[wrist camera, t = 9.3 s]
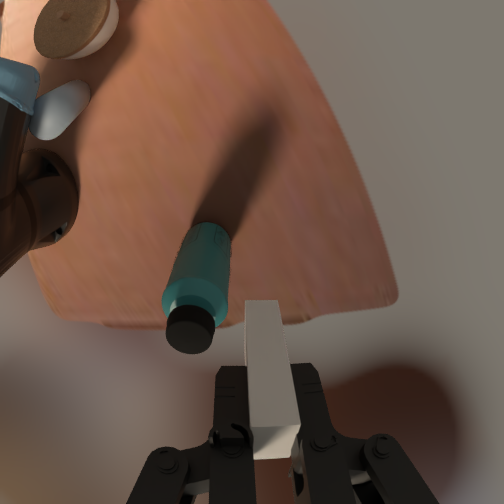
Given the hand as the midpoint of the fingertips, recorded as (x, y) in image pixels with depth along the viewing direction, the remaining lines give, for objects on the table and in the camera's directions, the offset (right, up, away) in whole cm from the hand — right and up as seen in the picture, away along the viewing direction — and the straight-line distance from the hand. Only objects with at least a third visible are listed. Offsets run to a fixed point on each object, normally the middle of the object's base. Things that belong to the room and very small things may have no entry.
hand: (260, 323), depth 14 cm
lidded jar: (-21, +33, +12) cm, 41 cm away
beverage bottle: (-6, +5, +27) cm, 28 cm away
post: (-24, +24, +16) cm, 38 cm away
